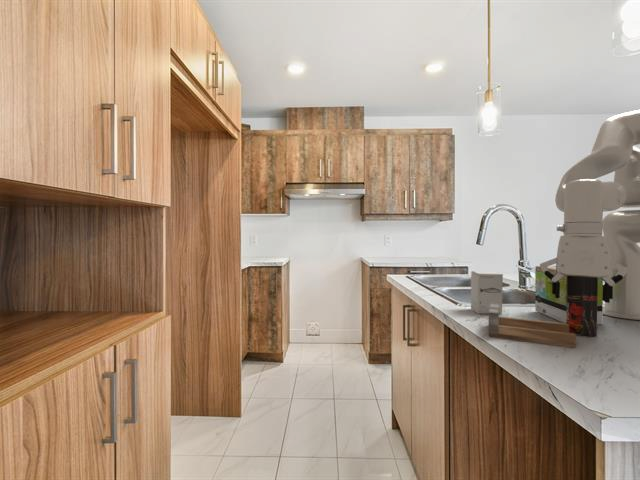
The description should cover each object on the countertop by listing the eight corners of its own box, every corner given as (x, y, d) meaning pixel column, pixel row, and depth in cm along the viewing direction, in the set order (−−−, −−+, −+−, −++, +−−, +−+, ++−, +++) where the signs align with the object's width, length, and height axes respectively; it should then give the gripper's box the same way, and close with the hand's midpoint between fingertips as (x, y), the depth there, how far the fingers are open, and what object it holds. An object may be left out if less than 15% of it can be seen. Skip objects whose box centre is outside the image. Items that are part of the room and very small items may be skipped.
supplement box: (477, 314, 103) (477, 273, 103) (470, 308, 110) (470, 270, 110) (502, 315, 102) (503, 273, 101) (494, 309, 109) (494, 271, 109)
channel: (490, 324, 91) (490, 303, 91) (567, 333, 83) (568, 310, 83) (488, 336, 81) (488, 312, 80) (576, 348, 72) (576, 321, 72)
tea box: (533, 311, 106) (534, 265, 106) (566, 312, 105) (567, 265, 105) (565, 324, 91) (566, 270, 91) (604, 325, 90) (605, 270, 90)
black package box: (603, 337, 80) (604, 274, 79) (577, 336, 80) (578, 274, 80) (585, 330, 86) (586, 271, 85) (561, 329, 86) (561, 271, 86)
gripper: (541, 229, 83) (540, 298, 83) (634, 230, 75) (632, 306, 75) (539, 230, 90) (537, 294, 90) (624, 231, 81) (622, 301, 81)
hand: (580, 299), depth 82 cm, fingers open, 9 cm apart
